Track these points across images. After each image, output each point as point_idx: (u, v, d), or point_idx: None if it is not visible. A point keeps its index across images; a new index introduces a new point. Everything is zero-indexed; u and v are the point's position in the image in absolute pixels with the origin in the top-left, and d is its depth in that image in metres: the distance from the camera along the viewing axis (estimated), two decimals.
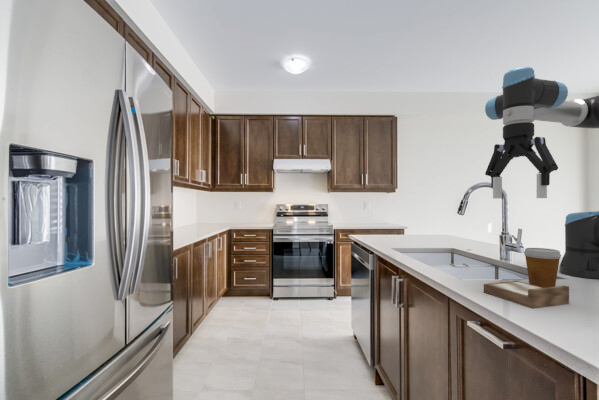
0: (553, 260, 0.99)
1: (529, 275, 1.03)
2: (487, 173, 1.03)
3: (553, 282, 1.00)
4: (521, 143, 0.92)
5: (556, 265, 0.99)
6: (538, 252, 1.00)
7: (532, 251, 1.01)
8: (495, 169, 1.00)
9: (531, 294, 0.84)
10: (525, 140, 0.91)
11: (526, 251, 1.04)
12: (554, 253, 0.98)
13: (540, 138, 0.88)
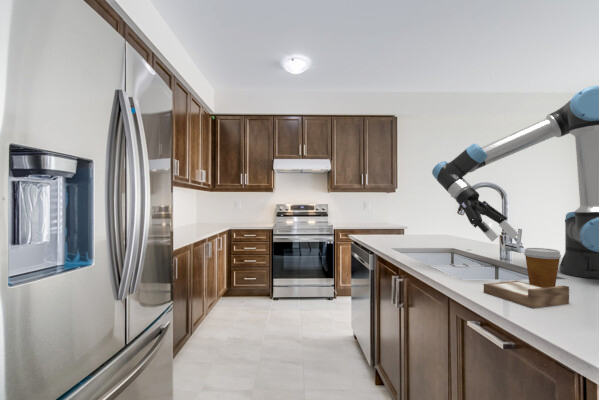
0: (553, 260, 0.99)
1: (529, 275, 1.03)
2: None
3: (553, 282, 1.00)
4: None
5: (556, 265, 0.99)
6: (538, 252, 1.00)
7: (532, 251, 1.01)
8: None
9: (531, 294, 0.84)
10: None
11: (526, 251, 1.04)
12: (554, 253, 0.98)
13: (462, 204, 1.18)
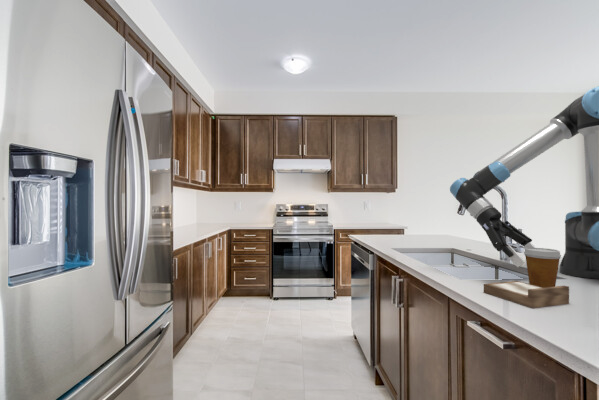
0: (553, 260, 0.99)
1: (529, 275, 1.03)
2: None
3: (553, 282, 1.00)
4: None
5: (556, 265, 0.99)
6: (538, 252, 1.00)
7: (532, 251, 1.01)
8: None
9: (531, 294, 0.84)
10: None
11: (526, 251, 1.04)
12: (554, 253, 0.98)
13: (483, 226, 1.11)
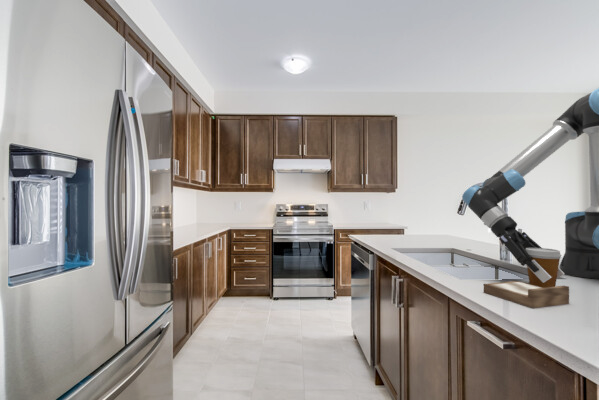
0: (553, 260, 0.99)
1: (529, 275, 1.03)
2: None
3: (553, 282, 1.00)
4: None
5: (556, 265, 0.99)
6: (538, 252, 1.00)
7: (532, 251, 1.01)
8: None
9: (531, 294, 0.84)
10: None
11: None
12: (554, 253, 0.98)
13: (501, 238, 1.06)
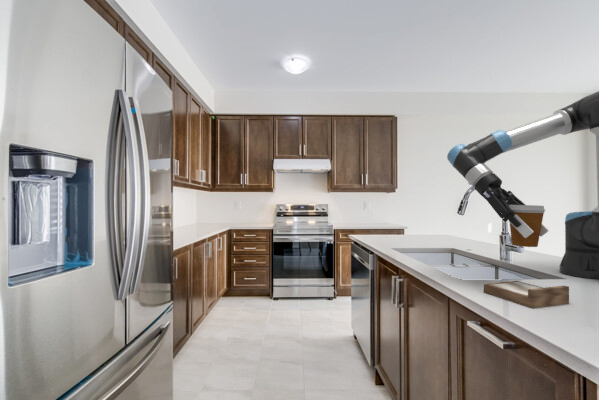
0: (536, 215, 0.94)
1: (512, 232, 0.98)
2: None
3: (536, 238, 0.95)
4: None
5: (539, 220, 0.94)
6: (521, 206, 0.95)
7: (515, 206, 0.96)
8: None
9: (531, 294, 0.84)
10: None
11: None
12: (537, 207, 0.93)
13: (484, 194, 1.02)
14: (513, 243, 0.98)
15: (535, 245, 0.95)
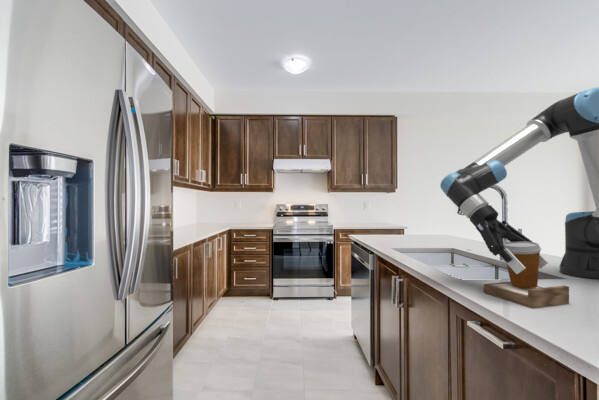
0: (532, 255, 0.91)
1: (509, 272, 0.95)
2: None
3: (535, 278, 0.92)
4: None
5: (536, 260, 0.91)
6: (516, 247, 0.92)
7: (509, 247, 0.93)
8: None
9: (531, 294, 0.84)
10: None
11: (504, 247, 0.96)
12: (533, 247, 0.91)
13: (478, 226, 0.97)
14: (512, 284, 0.95)
15: (535, 285, 0.92)
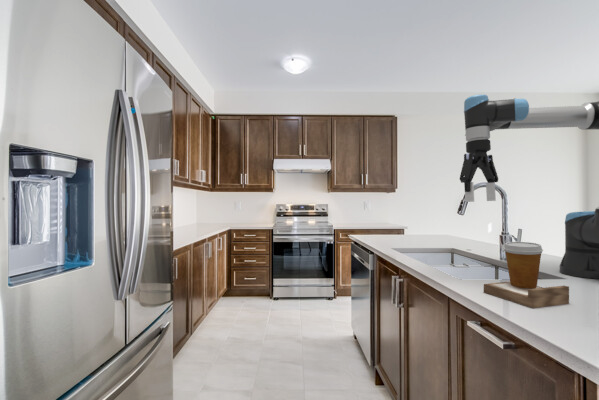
0: (535, 256, 0.91)
1: (510, 272, 0.95)
2: None
3: (535, 279, 0.92)
4: None
5: (538, 261, 0.91)
6: (519, 248, 0.92)
7: (513, 247, 0.93)
8: None
9: (531, 294, 0.84)
10: None
11: (506, 247, 0.95)
12: (536, 248, 0.91)
13: (466, 154, 1.12)
14: (512, 284, 0.95)
15: (535, 286, 0.92)
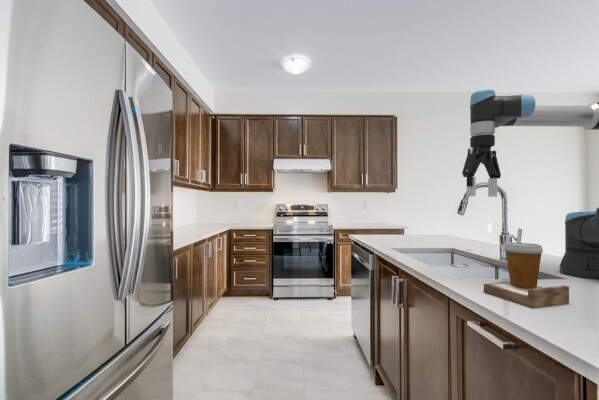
0: (535, 255, 0.91)
1: (510, 272, 0.95)
2: None
3: (535, 279, 0.92)
4: None
5: (538, 260, 0.92)
6: (520, 246, 0.92)
7: (513, 245, 0.94)
8: None
9: (531, 294, 0.84)
10: None
11: (507, 246, 0.96)
12: (536, 247, 0.91)
13: (470, 149, 1.11)
14: (512, 284, 0.95)
15: (535, 286, 0.92)
